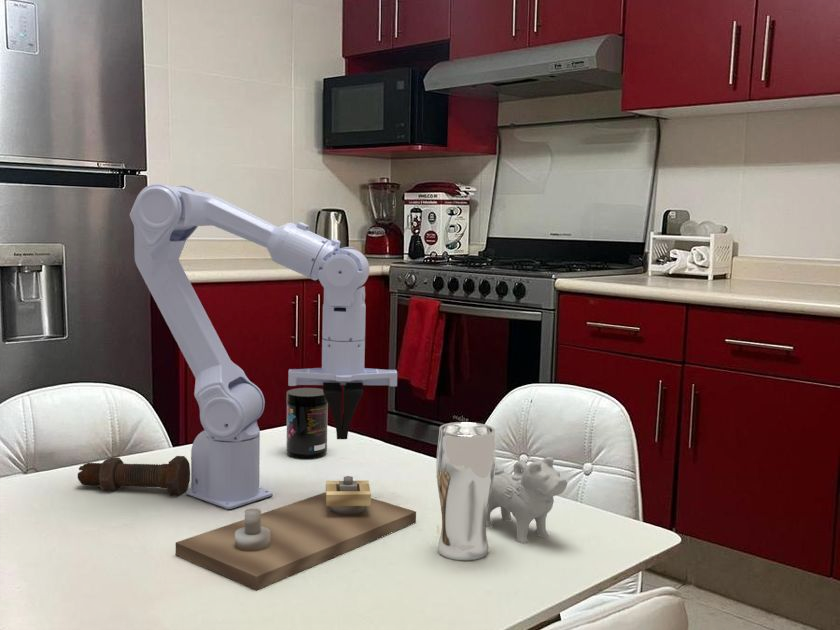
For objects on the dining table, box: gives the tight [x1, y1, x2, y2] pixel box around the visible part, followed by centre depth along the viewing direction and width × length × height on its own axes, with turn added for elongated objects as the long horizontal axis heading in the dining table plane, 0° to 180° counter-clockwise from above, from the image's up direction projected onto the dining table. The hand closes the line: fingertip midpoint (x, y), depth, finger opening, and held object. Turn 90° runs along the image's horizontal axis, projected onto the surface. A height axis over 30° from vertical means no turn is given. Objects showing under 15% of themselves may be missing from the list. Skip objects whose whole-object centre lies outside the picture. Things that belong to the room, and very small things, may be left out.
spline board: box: [175, 475, 417, 591], centre depth 106 cm, size 27×14×6 cm, turn 142°
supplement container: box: [286, 387, 329, 460], centre depth 142 cm, size 7×7×10 cm
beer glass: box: [435, 421, 496, 562], centre depth 103 cm, size 7×7×15 cm
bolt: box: [77, 455, 191, 497], centre depth 122 cm, size 6×5×15 cm
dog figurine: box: [486, 456, 568, 545], centre depth 109 cm, size 5×13×11 cm, turn 40°
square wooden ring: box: [325, 480, 372, 506], centre depth 112 cm, size 6×6×2 cm
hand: (341, 437), depth 118 cm, fingers closed
